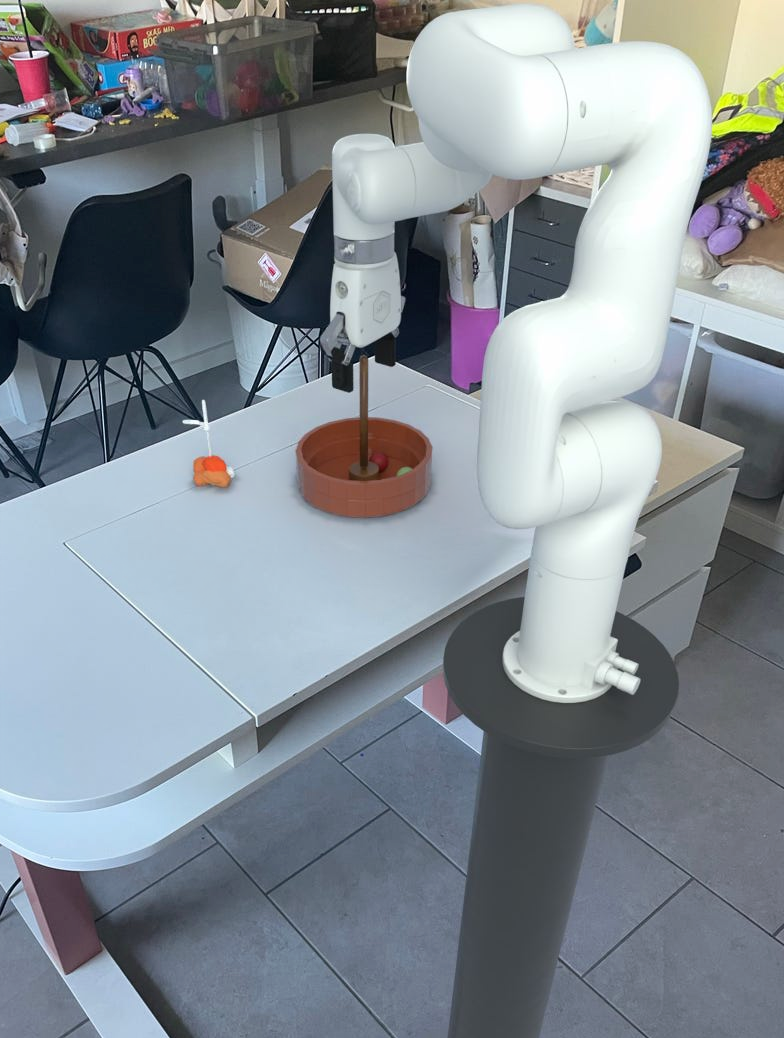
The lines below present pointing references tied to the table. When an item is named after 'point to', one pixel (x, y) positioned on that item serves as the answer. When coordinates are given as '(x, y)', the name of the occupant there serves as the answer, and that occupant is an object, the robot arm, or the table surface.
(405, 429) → the bowl
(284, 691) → the table surface
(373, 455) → the red bead
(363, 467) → the wooden masher
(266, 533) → the table surface
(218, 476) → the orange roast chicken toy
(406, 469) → the green bead
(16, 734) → the table surface
